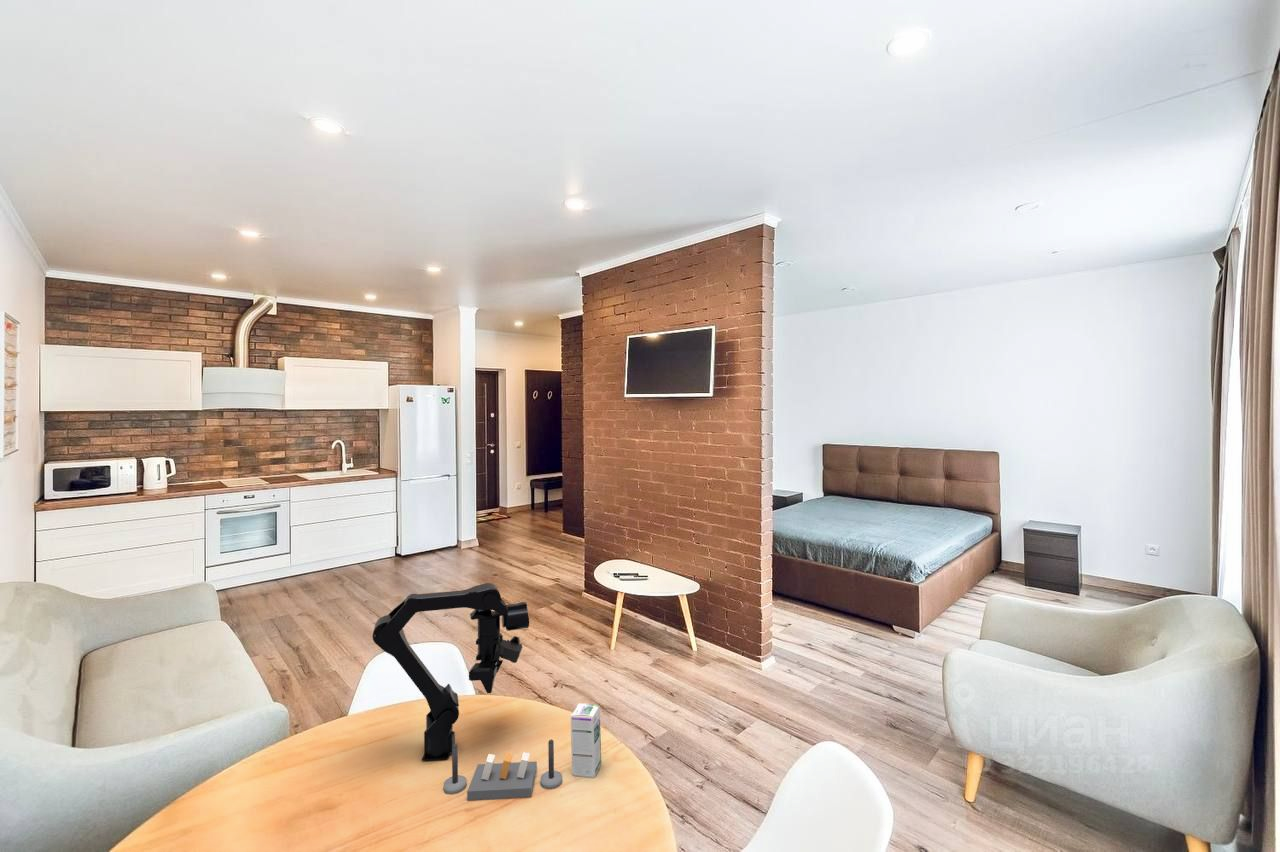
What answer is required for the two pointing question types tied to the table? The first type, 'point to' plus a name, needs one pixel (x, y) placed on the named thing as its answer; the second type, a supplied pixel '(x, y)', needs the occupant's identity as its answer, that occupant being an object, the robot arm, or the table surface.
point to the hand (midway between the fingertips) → (489, 692)
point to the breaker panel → (502, 783)
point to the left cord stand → (455, 776)
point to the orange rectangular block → (505, 766)
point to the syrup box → (586, 740)
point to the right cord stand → (551, 771)
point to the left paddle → (488, 767)
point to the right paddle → (523, 765)
